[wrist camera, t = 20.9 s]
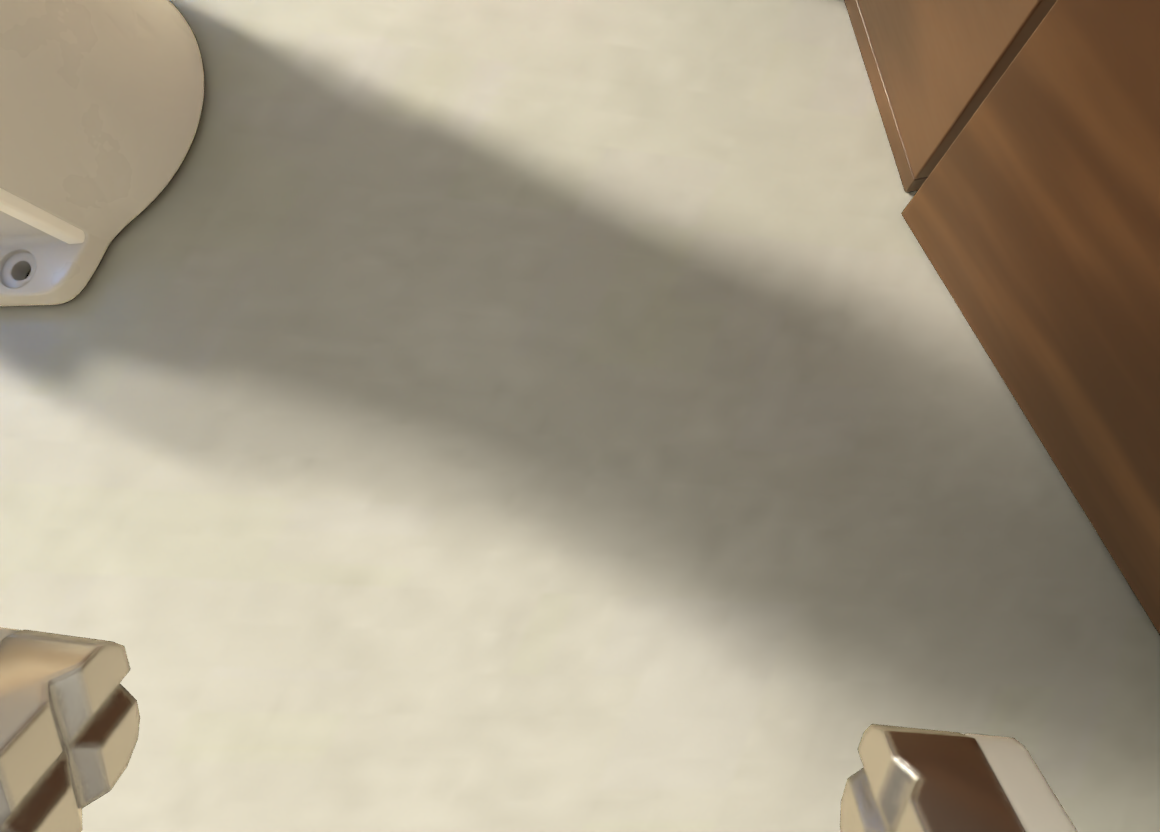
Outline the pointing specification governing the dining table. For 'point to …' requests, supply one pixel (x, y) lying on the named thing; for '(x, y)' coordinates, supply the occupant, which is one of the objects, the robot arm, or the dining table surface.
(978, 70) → the cupboard
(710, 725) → the dining table surface
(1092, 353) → the door
